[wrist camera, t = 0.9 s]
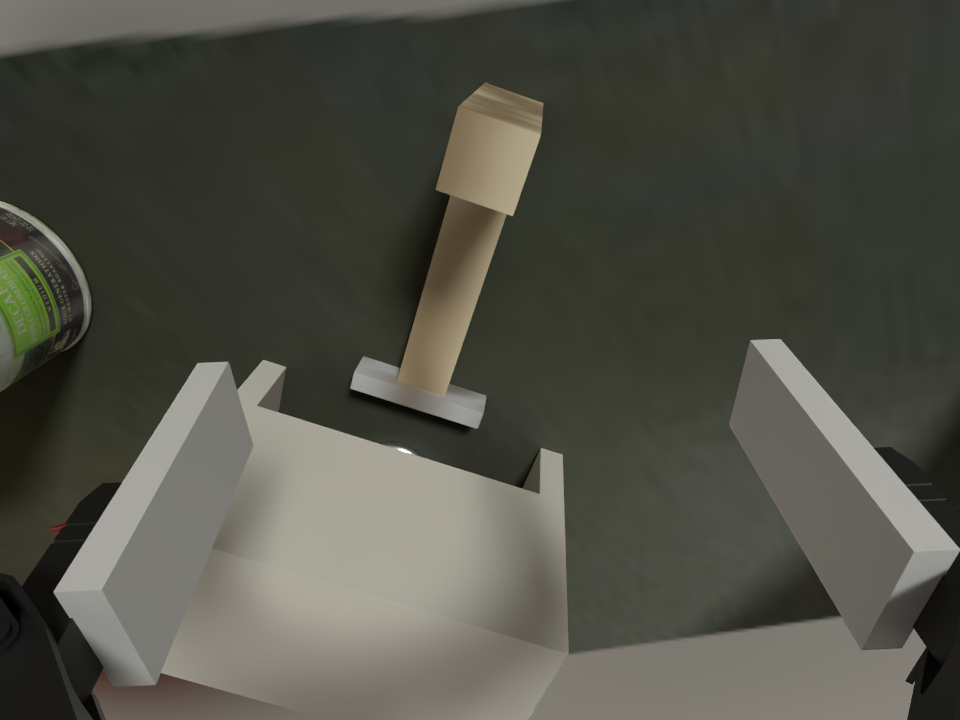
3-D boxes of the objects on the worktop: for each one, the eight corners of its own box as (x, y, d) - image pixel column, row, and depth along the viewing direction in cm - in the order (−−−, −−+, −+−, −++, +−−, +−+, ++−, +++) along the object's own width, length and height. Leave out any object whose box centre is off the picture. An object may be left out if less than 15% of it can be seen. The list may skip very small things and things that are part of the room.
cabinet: (562, 454, 40) (568, 654, 27) (509, 565, 45) (493, 775, 33) (263, 359, 39) (124, 522, 26) (243, 484, 44) (120, 670, 31)
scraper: (591, 120, 30) (608, 158, 22) (480, 410, 39) (460, 522, 30) (435, 65, 30) (388, 82, 21) (359, 372, 39) (303, 473, 30)
